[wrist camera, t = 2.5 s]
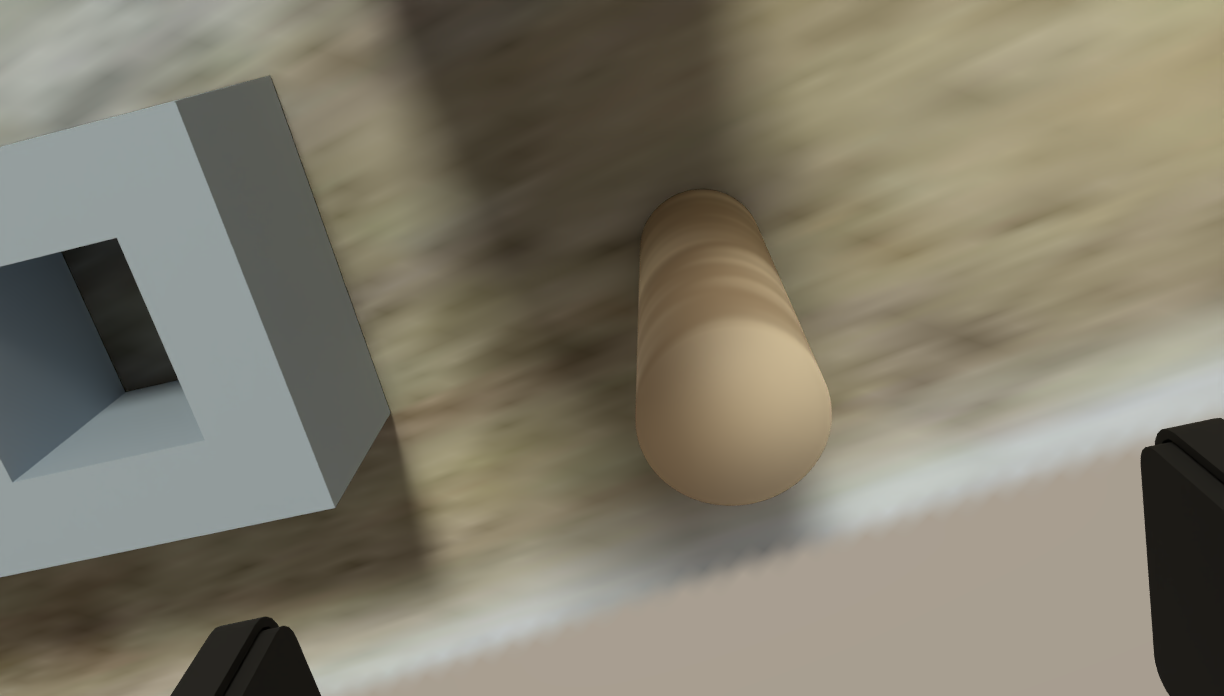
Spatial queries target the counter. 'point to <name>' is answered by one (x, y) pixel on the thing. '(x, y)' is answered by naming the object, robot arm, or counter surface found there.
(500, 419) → the counter surface
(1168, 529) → the robot arm
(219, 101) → the hole block
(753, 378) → the peg
